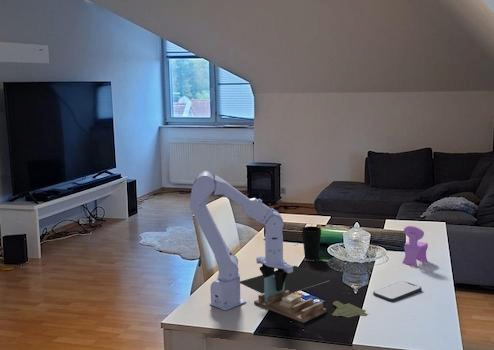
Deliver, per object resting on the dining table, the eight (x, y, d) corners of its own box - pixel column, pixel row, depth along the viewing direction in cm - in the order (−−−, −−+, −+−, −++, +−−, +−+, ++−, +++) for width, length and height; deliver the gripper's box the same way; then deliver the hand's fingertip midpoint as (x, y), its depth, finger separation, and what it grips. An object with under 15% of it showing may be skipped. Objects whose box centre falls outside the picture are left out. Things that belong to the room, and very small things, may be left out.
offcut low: (290, 309, 181) (290, 305, 181) (279, 305, 184) (279, 301, 184) (302, 303, 185) (302, 300, 185) (292, 300, 188) (292, 296, 188)
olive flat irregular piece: (360, 329, 169) (360, 326, 168) (318, 310, 183) (318, 307, 183) (385, 320, 175) (386, 317, 175) (342, 301, 189) (342, 298, 189)
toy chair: (430, 261, 226) (431, 224, 223) (419, 267, 220) (420, 229, 217) (410, 257, 232) (411, 220, 229) (399, 262, 225) (400, 225, 223)
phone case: (392, 304, 187) (423, 291, 196) (392, 299, 187) (423, 287, 196) (371, 296, 194) (402, 284, 203) (371, 291, 194) (402, 280, 203)
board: (267, 302, 186) (267, 279, 185) (264, 301, 188) (264, 277, 186) (284, 295, 192) (284, 272, 190) (281, 294, 193) (281, 271, 192)
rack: (303, 322, 173) (303, 313, 173) (254, 303, 188) (254, 295, 188) (326, 311, 181) (326, 302, 180) (277, 294, 196) (277, 286, 195)
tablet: (295, 265, 224) (331, 279, 208) (295, 267, 224) (331, 281, 208) (238, 282, 208) (273, 298, 192) (238, 283, 208) (273, 300, 192)
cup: (316, 261, 228) (316, 232, 226) (298, 258, 232) (298, 230, 230) (324, 256, 235) (324, 227, 232) (307, 253, 239) (307, 225, 236)
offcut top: (290, 304, 182) (290, 300, 181) (282, 301, 184) (282, 297, 184) (300, 299, 185) (300, 296, 185) (292, 296, 188) (292, 293, 187)
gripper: (299, 250, 184) (299, 291, 187) (266, 241, 195) (267, 280, 197) (284, 255, 179) (284, 297, 182) (251, 246, 190) (252, 285, 192)
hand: (274, 288), depth 189 cm, fingers open, 4 cm apart
